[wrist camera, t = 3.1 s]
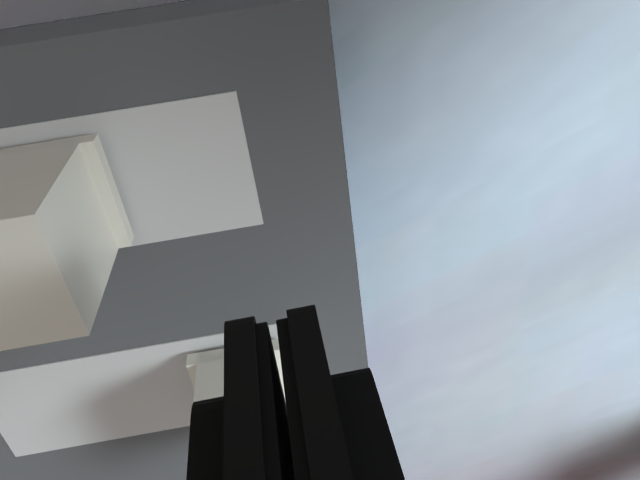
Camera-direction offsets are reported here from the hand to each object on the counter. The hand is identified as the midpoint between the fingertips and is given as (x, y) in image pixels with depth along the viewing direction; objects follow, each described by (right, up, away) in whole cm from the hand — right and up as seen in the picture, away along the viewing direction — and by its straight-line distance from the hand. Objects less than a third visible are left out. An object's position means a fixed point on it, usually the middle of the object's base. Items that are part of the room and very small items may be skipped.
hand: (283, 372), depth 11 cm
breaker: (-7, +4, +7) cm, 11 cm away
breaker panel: (-7, -2, +15) cm, 16 cm away
